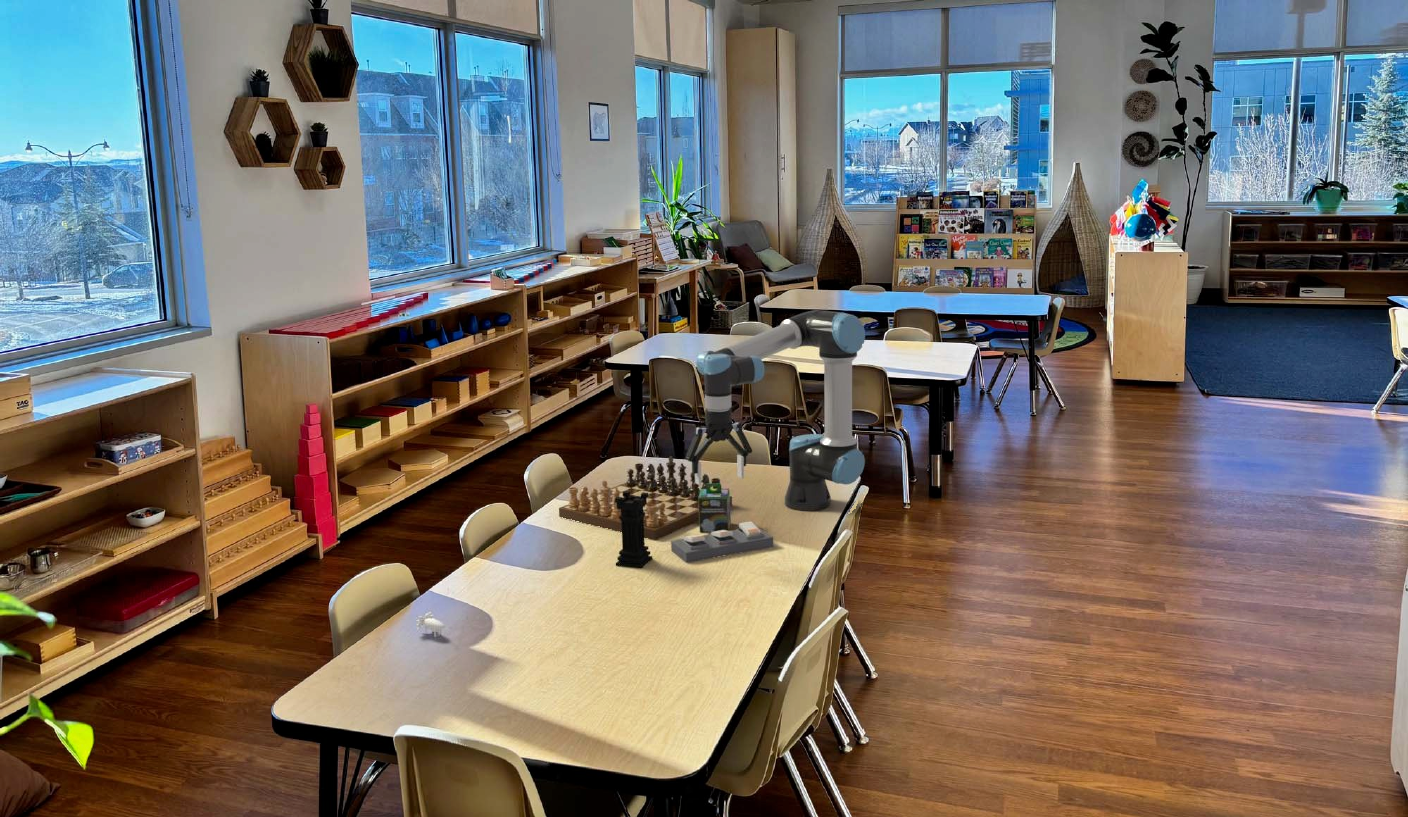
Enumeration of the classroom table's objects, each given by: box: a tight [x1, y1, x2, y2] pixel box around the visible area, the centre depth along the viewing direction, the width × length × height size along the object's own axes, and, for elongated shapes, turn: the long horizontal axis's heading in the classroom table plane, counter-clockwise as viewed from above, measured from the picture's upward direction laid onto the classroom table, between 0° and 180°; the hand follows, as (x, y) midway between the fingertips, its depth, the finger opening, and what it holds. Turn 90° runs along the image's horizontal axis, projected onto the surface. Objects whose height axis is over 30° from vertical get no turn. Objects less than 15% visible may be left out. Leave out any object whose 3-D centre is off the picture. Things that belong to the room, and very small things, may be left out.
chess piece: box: [615, 491, 653, 570], centre depth 316 cm, size 8×8×20 cm
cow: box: [415, 610, 452, 638], centre depth 272 cm, size 12×5×5 cm, turn 52°
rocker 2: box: [738, 520, 761, 536], centre depth 330 cm, size 4×6×1 cm, turn 24°
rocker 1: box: [682, 534, 705, 542], centre depth 323 cm, size 4×6×1 cm, turn 24°
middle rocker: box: [710, 530, 733, 537], centre depth 326 cm, size 4×6×1 cm, turn 24°
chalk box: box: [698, 482, 732, 533], centre depth 344 cm, size 9×9×15 cm
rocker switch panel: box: [670, 525, 774, 564], centre depth 327 cm, size 28×11×4 cm, turn 114°
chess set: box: [558, 456, 733, 541], centre depth 362 cm, size 40×40×15 cm
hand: (719, 480), depth 322 cm, fingers open, 13 cm apart
